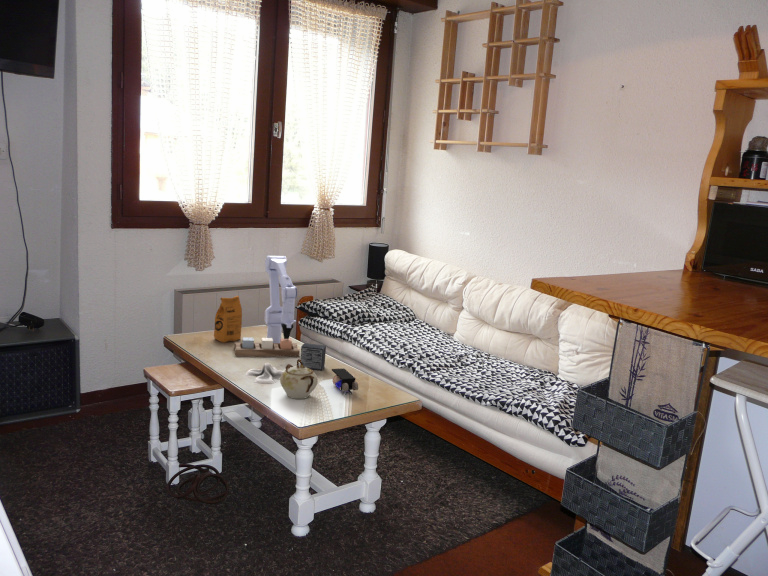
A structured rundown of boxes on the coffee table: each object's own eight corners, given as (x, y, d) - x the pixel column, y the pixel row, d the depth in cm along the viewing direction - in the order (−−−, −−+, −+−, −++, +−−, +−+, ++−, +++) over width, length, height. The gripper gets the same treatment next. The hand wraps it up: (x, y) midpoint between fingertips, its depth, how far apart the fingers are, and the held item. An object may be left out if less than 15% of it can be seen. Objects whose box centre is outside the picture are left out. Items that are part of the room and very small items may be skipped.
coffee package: (210, 338, 328) (212, 295, 323) (231, 335, 337) (234, 293, 332) (222, 343, 321) (224, 300, 317) (243, 340, 330) (245, 297, 326)
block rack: (234, 348, 315) (234, 342, 315) (296, 349, 323) (296, 343, 323) (235, 355, 304) (235, 349, 303) (299, 356, 312) (299, 350, 311)
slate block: (242, 345, 313) (242, 337, 312) (252, 345, 314) (253, 337, 313) (242, 348, 308) (243, 340, 307) (253, 348, 309) (253, 340, 308)
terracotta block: (279, 346, 317) (280, 338, 317) (290, 346, 319) (290, 338, 318) (280, 349, 313) (281, 341, 312) (291, 349, 314) (291, 341, 313)
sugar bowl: (269, 389, 265) (271, 354, 262) (300, 384, 274) (303, 350, 271) (294, 406, 250) (297, 369, 247) (326, 400, 259) (329, 364, 256)
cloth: (261, 387, 268) (262, 373, 267) (236, 374, 281) (236, 360, 279) (303, 378, 284) (304, 365, 283) (278, 366, 296) (279, 353, 295)
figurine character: (358, 398, 269) (342, 382, 281) (360, 381, 266) (345, 366, 279) (343, 400, 265) (328, 383, 278) (345, 383, 263) (330, 367, 276)
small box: (325, 366, 301) (326, 345, 299) (322, 371, 294) (324, 348, 292) (302, 364, 301) (304, 342, 299) (299, 368, 295) (300, 346, 293)
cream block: (261, 345, 315) (261, 337, 314) (271, 345, 316) (272, 338, 315) (261, 348, 310) (262, 340, 309) (272, 349, 311) (273, 340, 311)
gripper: (298, 315, 306) (296, 343, 309) (294, 308, 320) (292, 334, 323) (283, 314, 304) (281, 342, 307) (280, 307, 318) (278, 334, 321)
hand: (286, 338), depth 315 cm, fingers closed
